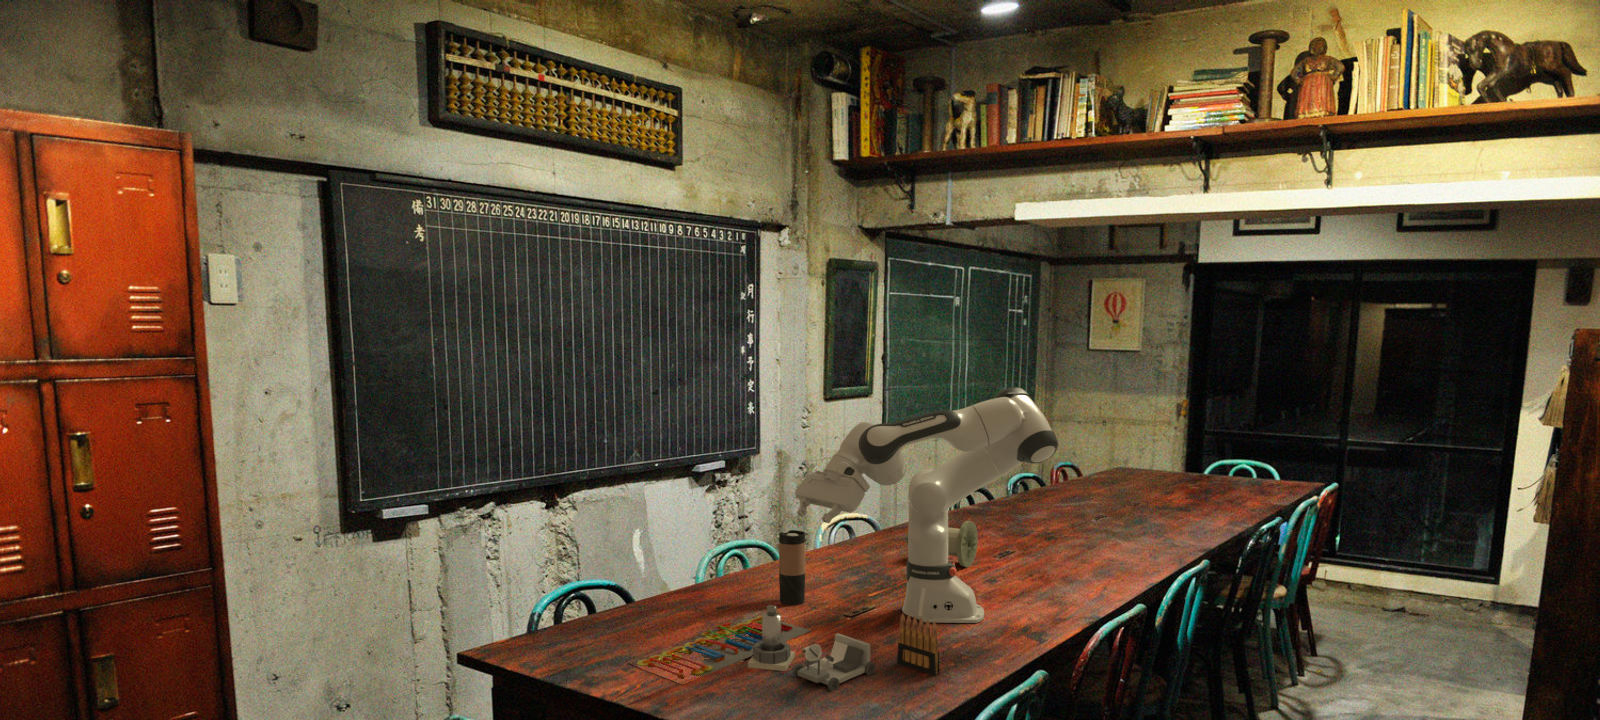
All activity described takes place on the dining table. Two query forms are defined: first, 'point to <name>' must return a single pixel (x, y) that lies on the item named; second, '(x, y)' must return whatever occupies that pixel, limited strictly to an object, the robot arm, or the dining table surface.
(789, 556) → the travel mug
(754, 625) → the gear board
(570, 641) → the dining table surface
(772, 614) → the grey peg
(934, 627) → the ammunition clip
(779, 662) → the socket plate
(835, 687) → the small toy car
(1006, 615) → the dining table surface
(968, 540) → the spool
